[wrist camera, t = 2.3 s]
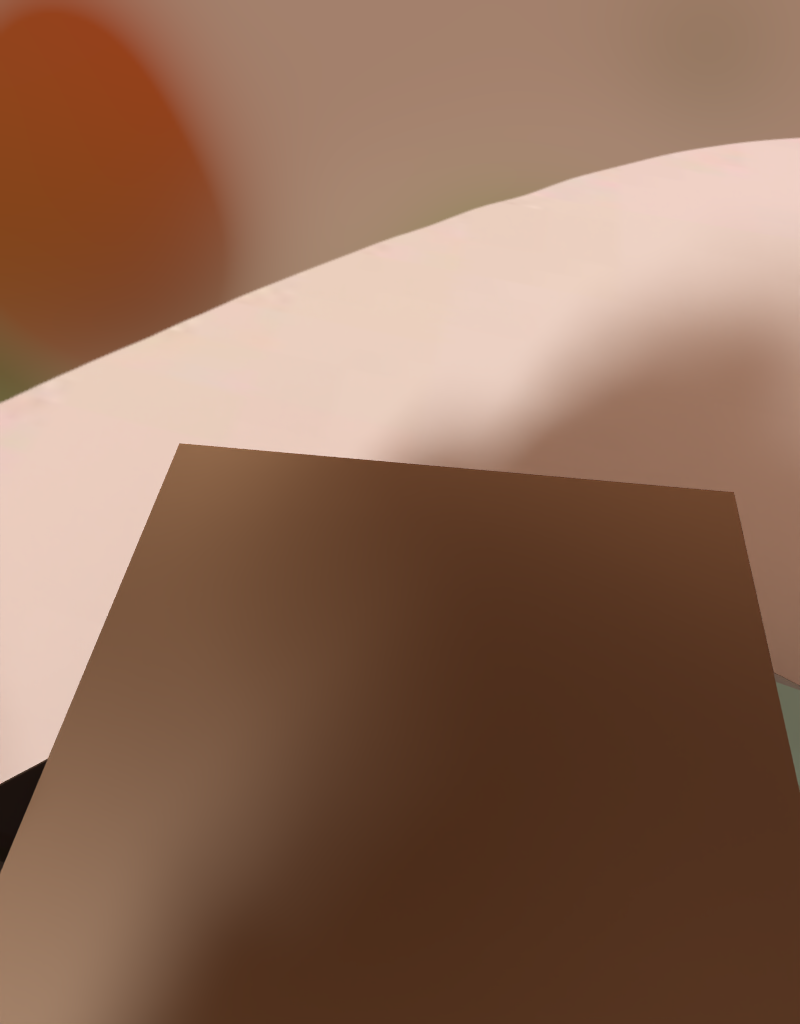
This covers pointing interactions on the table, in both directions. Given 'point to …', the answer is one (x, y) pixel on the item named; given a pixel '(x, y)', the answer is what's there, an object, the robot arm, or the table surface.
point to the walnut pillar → (415, 762)
